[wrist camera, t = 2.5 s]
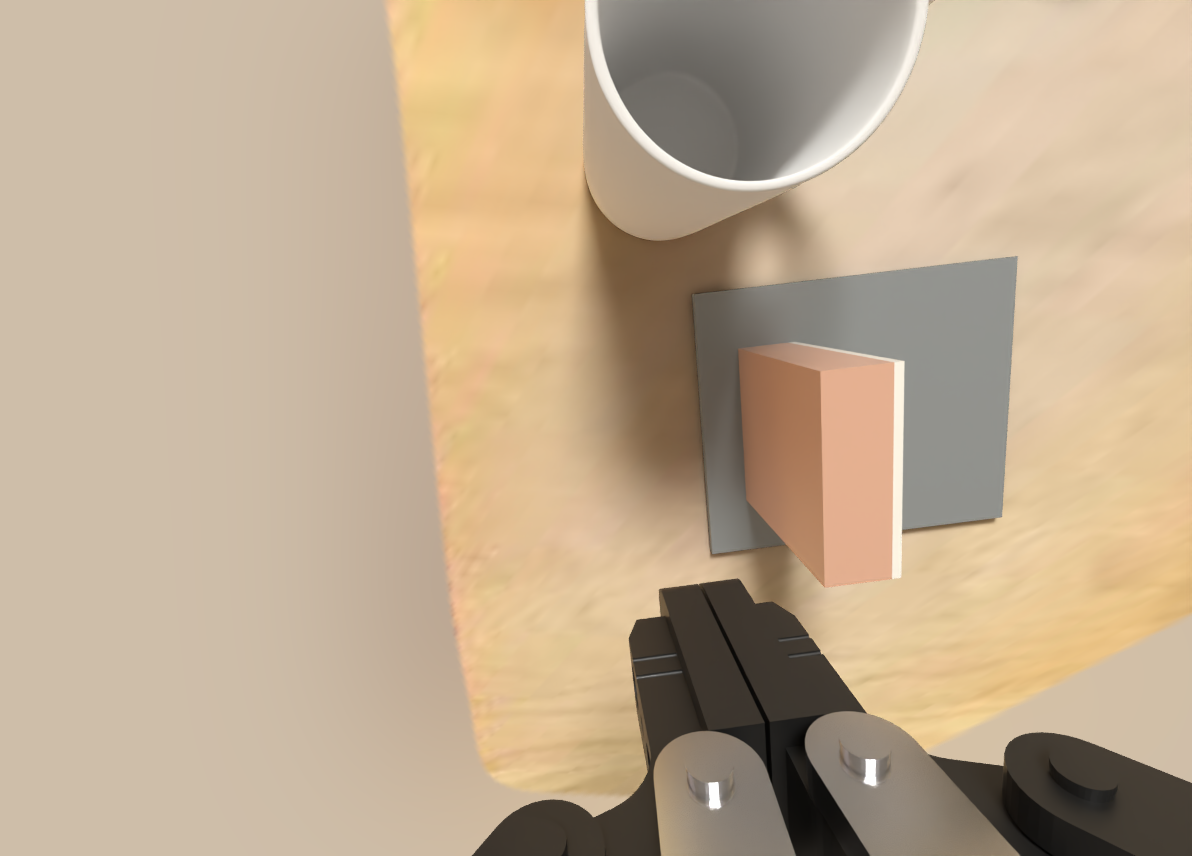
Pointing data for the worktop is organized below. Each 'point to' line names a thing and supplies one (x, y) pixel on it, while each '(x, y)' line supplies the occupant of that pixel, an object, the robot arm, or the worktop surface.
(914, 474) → the mat
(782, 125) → the mug
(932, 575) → the worktop surface
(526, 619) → the worktop surface
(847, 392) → the tile
